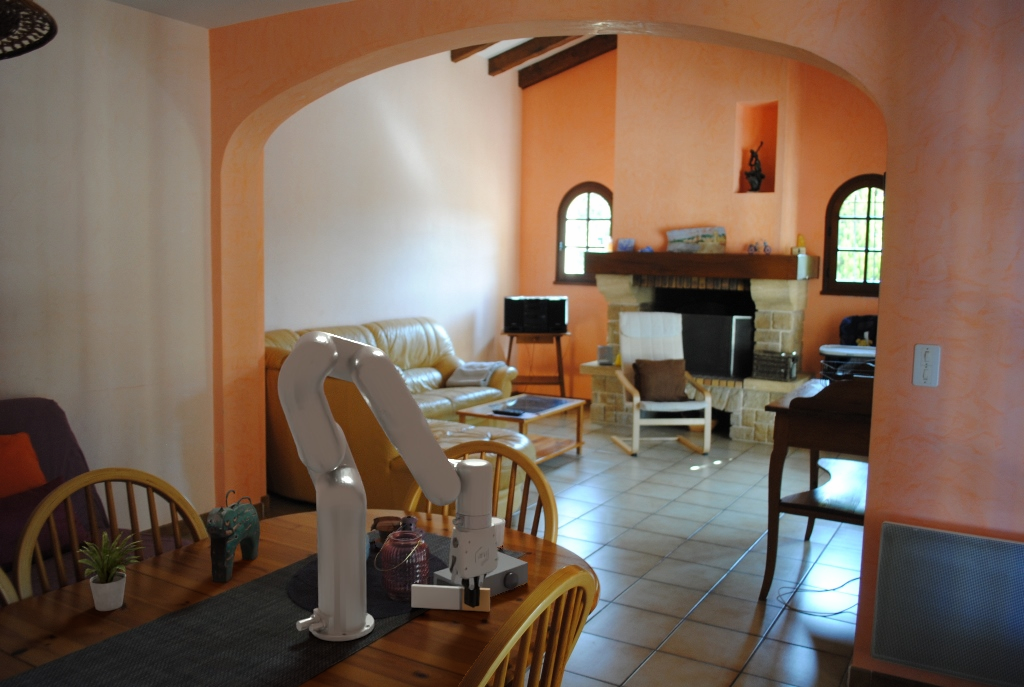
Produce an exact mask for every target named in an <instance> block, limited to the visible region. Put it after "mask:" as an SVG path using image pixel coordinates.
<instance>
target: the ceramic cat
mask: <svg viewBox="0 0 1024 687" xmlns="http://www.w3.org/2000/svg"><path fill="white" fill-rule="evenodd" d="M230 493H233V495H235V494H236V490H235V489H230V490H228V491H227V492H226V495H225V505H226V507H223V506H221V507H214V508H212V509H211V510H210V512H209V513H208V515H207V519H206V531H207V533H208V534H209V536H210V549H209V550H210V560H211V562H210V563H211V578H212V582H214V583H221V584H222V583H223V584H224V583H225V584H226V583H228V582H229V581H231V579H232V576H233V567H234V559H235V554H236V550H237V548H238V546H240V553H241V560H242V561H254V560H257V558H258V556H259V546H260V539H261V538H260V536H261V526H260V525H261V524H260V523H261V522H260V518H259V515H258V511H257V509H256V508H255V506H254V505H253V504H252V500H251V498H250V497H249V496H243V497H241V498H240V499H238V501H237V502H234V503H232V504H230V505H228V498H229V494H230ZM246 499H247V500H248V502H249V503H247V502H241V501H242V500H246Z"/></svg>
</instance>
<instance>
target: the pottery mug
mask: <svg viewBox="0 0 1024 687" xmlns="http://www.w3.org/2000/svg"><path fill="white" fill-rule="evenodd" d="M400 522H401V523H402V517H400V516H395V515H385V516H377V517H375V518H373V523H372V524H371V526H370V529H369V530H370V532H372V531H374V530H375V531H378V534H379V537H378V538H375V539H373V542H374V541H375V542H378V543H382V544H383V543H384V541H385V539H386V538H387V536H388V535H389V534H390V533H392V532H393V531H395V530H397V529H398V528H399V527H400Z"/></svg>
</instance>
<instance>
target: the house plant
mask: <svg viewBox="0 0 1024 687" xmlns="http://www.w3.org/2000/svg"><path fill="white" fill-rule="evenodd" d="M123 532H124V530H122V531H121V532H119V534H118V536H117V537H116V538H115V539H114V541H113V542H112V543H111V540H110V538H109V537H108V532H107V531H104V530H103V532H102V538H101V539H102V540H101V546H100V547H101V548H99V547H98V546H97V545H96V543H95V544H94V543H91V542H88V541H86V540H83V542H84V543H85V544H86V545H87V547H88V548H87V547H86V546H83V545H82V546H81V547H82V548H84V550H83V549H78V551H77V553H79V552H82V553H84V554H85V555H86V556H87V557H89V558H90V559H91V560H90V559H88V558H83V559H82V558H81V559H79V560H78V561H77V562H78V563H82V564H85V565H88V566H90V567H92V568H86V569H85V571H84V574H83V575H84V578H86V577H88V576H89V575H91V574H96V575H93V576H92V577H90V579H89V584H90V585H89V586H90V589H91V593H92V597H93V601H94V602H93V603H94V607H95V610H97V611H99V612H110V611H114V610H117V609H119V608H121V607H122V606H123V602H124V601H123V600H124V596H125V588H126V587H125V586H126V581H127V580H126V579H127V574H126V565H129V564H132V563H140V564H141V562H140V561H138V560H137V559H140V557H141V555H136V556H134V555H129V556H125V555H127V554H129V553H131V552H133V551H136V550H138V549H144V548H145V546H141V547H136V546H138V545H135V544H136V543H139V542H142V541H144V542H145V540H137V541H134V542H131V543H129V544H127V543H128V541H129V539H131V537H133V535H135V534H136V532H135V533H132V534H130V535H128V536H126V537H125V538H124V539H123V540H122V541H121V543H120V544H119V545H118V546H117V544H118V543H119V540H120V539H121V536H122V535H123ZM133 544H134V545H133ZM116 546H117V547H116ZM132 547H134V548H132ZM96 548H97V549H96ZM124 556H125V557H124ZM123 557H124V558H123ZM128 559H129V560H128ZM121 570H122V571H123V572H122V571H121ZM120 571H121V572H120Z"/></svg>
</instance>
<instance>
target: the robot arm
mask: <svg viewBox="0 0 1024 687" xmlns="http://www.w3.org/2000/svg"><path fill="white" fill-rule="evenodd" d="M293 347H294V348H293V349H292V351H290V353H289V354H288V356H287V357H286V359H285V360H284V361H283V363H282V365H281V368H280V370H279V374H278V378H277V394H278V399H279V402H280V406H281V408H282V410H283V414H284V415H285V420H286V421H287V425H288V428H289V430H290V432H291V435H292V438H293V441H294V444H295V446H296V451H297V454H298V458H299V459H300V462H302V464H303V465H304V466H305V467H306V469H307V472H308V474H309V476H310V479H311V481H312V484H313V487H314V489H315V494H316V495H315V497H316V503H315V504H316V506H315V507H316V535H317V536H316V538H317V540H316V543H317V544H316V545H317V546H316V548H317V549H316V550H317V553H316V554H317V588H318V589H317V593H318V594H317V596H318V599H317V600H318V603H317V604H318V607H316V608H314V609H313V614H311V615H310V616H309V617H307V618H304V619H299V620H296V624H295V626H296V629H297V630H298V632H301V631H304V630H306V629H309V630H308V631H310V632H311V634H312V635H313V636H314V637H316V638H317V639H320V640H323V641H329V642H346V641H352V640H357V639H359V638H362V637H364V636H367V635H368V634H369V633H371V632H372V631H373V629H374V628H375V619H374V618H375V617H373V615H371V614H370V613H368V612H367V610H368V609H367V548H366V547H367V533H366V532H367V514H368V512H367V510H368V506H367V505H368V504H367V503H368V501H367V495H366V490H365V486H364V482H363V481H362V477H361V475H360V472H359V469H358V466H357V464H356V463H355V458H354V457H353V454H352V452H351V449H350V448H351V447H350V445H349V442H348V441H347V438H346V436H345V433H344V431H343V429H342V427H341V426H340V424H339V423H338V422H336V420H335V418H334V415H333V413H332V410H331V407H330V404H329V401H328V399H327V396H326V394H325V391H324V390H325V389H324V384H325V381H326V378H327V377H331V378H335V379H339V380H343V381H346V382H351V383H354V385H355V387H356V388H357V391H359V393H360V394H361V396H362V398H363V400H364V401H365V403H366V404H367V406H368V407H369V409H370V411H371V413H372V414H373V416H374V417H375V419H376V421H377V422H378V424H379V426H380V427H381V429H382V431H383V432H384V434H385V435H386V437H387V439H388V440H389V442H390V444H391V446H393V447H394V449H395V450H396V451H397V453H398V454H399V455H400V457H401V458H402V460H403V462H404V464H405V465H406V466H407V468H408V469H409V471H410V473H411V475H412V477H413V478H414V480H415V481H416V484H418V486H419V487H420V490H421V492H422V493H423V494H424V496H425V498H426V499H427V500H428V501H429V502H430V503H432V504H434V505H436V506H439V507H440V506H441V507H442V506H444V507H445V506H448V505H451V504H453V503H454V502H455V517H454V518H453V519H452V525H454V526H453V528H452V533H451V537H450V538H451V539H450V547H449V553H448V555H449V557H448V566H449V567H448V568H449V570H450V573H452V576H451V582H453V583H455V584H462V586H464V604H466V605H468V606H470V607H472V608H474V607H476V606H479V605H480V587H481V586H482V585H483V580H484V578H485V577H486V575H488V574H490V573H491V572H492V571H493V570H495V569H496V568H497V564H498V552H499V549H498V548H497V536H496V530H495V526H494V524H493V523H492V517H493V483H494V482H493V481H494V480H493V478H494V475H493V474H494V472H493V471H494V469H493V464H492V463H491V461H488V460H485V459H482V458H467V459H464V460H463V459H451V458H448V457H447V455H446V453H445V452H444V450H443V449H442V447H441V445H440V443H439V441H438V440H437V438H436V437H435V435H434V433H433V431H432V429H431V426H430V425H429V422H428V419H427V418H426V416H425V414H424V412H423V411H422V409H421V407H420V405H419V404H418V403H417V401H416V398H415V397H414V395H413V394H412V392H411V391H410V389H409V388H408V386H407V385H406V383H405V381H404V379H403V378H402V376H401V374H400V373H399V370H397V368H396V366H395V364H394V362H393V361H392V359H391V358H390V356H389V355H388V354H387V353H386V352H385V351H384V350H382V349H381V348H379V347H376V346H375V345H374V346H373V345H369V344H366V343H362V342H359V341H355V340H351V339H348V338H345V337H342V336H338V335H334V334H332V333H330V332H329V333H328V332H325V331H319V330H312V331H309V332H306V333H304V334H302V335H300V337H298V339H297V340H296V342H295V344H294V346H293Z"/></svg>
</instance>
